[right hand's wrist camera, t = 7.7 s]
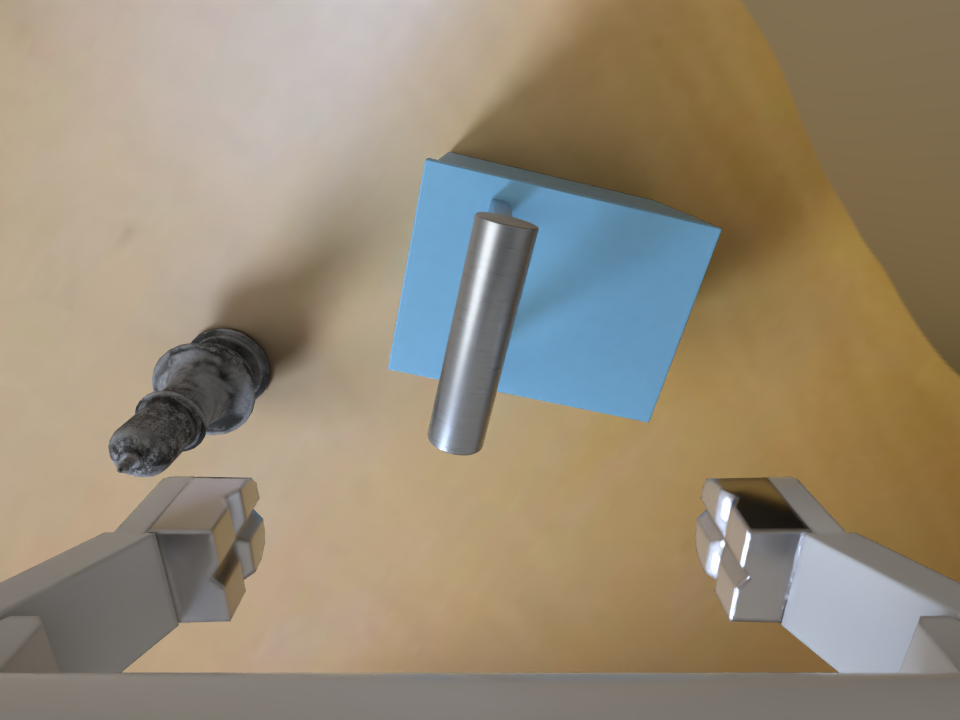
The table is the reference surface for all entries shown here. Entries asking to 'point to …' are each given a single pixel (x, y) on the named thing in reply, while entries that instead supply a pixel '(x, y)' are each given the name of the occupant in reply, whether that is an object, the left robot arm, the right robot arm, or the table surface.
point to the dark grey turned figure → (191, 400)
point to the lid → (540, 299)
